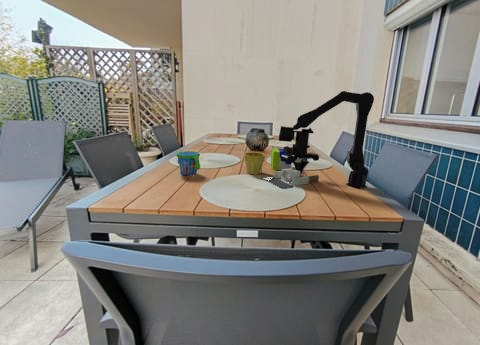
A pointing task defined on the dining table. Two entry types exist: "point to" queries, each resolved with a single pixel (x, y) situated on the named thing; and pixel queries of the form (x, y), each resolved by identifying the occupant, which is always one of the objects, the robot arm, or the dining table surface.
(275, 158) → the puzzle toy
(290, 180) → the grey block
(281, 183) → the trap pit mat
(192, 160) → the snack cup
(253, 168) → the plant pot
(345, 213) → the dining table surface
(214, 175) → the dining table surface
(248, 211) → the dining table surface
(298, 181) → the lane rails
